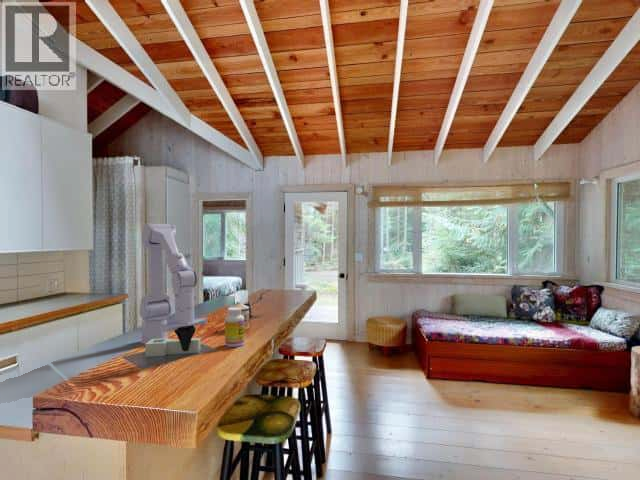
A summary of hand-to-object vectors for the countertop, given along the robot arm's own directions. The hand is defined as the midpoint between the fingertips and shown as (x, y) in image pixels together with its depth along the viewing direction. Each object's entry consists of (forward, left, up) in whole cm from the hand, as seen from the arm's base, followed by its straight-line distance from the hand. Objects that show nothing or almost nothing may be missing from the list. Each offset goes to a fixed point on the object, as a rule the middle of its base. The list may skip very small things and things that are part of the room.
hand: (185, 350), depth 113 cm
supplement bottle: (+1, +18, -2) cm, 18 cm away
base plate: (-6, -2, -2) cm, 7 cm away
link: (-5, -1, -1) cm, 6 cm away
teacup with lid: (-19, +34, -2) cm, 39 cm away
